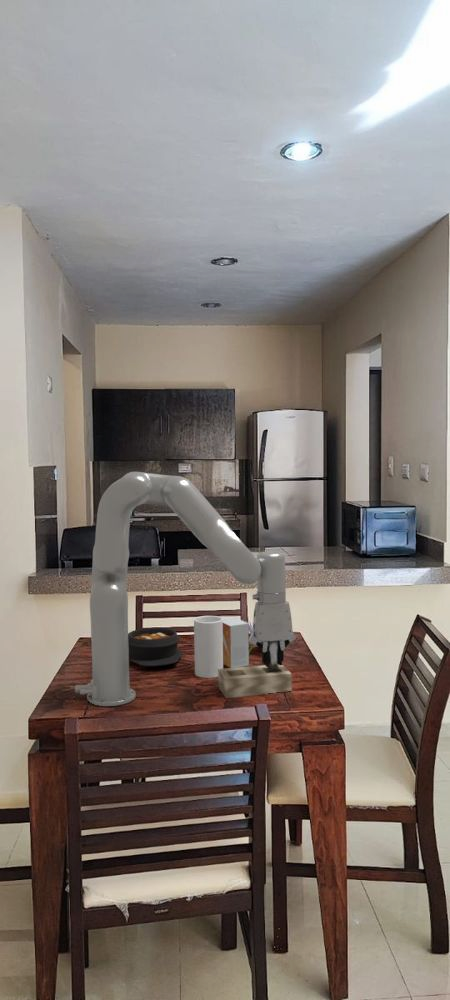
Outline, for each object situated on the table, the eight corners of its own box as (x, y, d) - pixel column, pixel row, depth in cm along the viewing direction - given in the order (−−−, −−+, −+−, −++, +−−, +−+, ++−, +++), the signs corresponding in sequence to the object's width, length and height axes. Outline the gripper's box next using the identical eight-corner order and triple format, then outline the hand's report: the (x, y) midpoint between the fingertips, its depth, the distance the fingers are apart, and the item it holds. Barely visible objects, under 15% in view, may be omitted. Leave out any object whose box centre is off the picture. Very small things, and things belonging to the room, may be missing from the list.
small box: (218, 662, 223) (217, 619, 222) (236, 659, 226) (235, 617, 225) (230, 669, 216) (230, 625, 215) (249, 665, 219) (248, 622, 218)
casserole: (191, 668, 217) (191, 640, 217) (129, 675, 212) (128, 646, 211) (173, 646, 241) (173, 621, 241) (116, 651, 236) (116, 626, 235)
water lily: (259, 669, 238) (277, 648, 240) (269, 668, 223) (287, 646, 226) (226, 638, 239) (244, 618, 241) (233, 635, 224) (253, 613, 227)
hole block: (225, 698, 191) (225, 679, 191) (218, 687, 200) (218, 669, 200) (291, 691, 195) (291, 673, 195) (281, 681, 204) (281, 663, 204)
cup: (189, 674, 211) (188, 620, 210) (205, 667, 218) (204, 614, 217) (212, 679, 207) (211, 623, 205) (228, 671, 213) (227, 617, 212)
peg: (269, 674, 197) (268, 637, 196) (266, 670, 200) (265, 634, 199) (279, 673, 197) (279, 636, 197) (276, 669, 200) (276, 633, 200)
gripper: (245, 602, 192) (247, 671, 193) (305, 598, 195) (306, 666, 197) (238, 596, 199) (240, 663, 200) (296, 592, 203) (297, 658, 204)
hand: (272, 663), depth 198 cm, fingers closed on peg, 3 cm apart
